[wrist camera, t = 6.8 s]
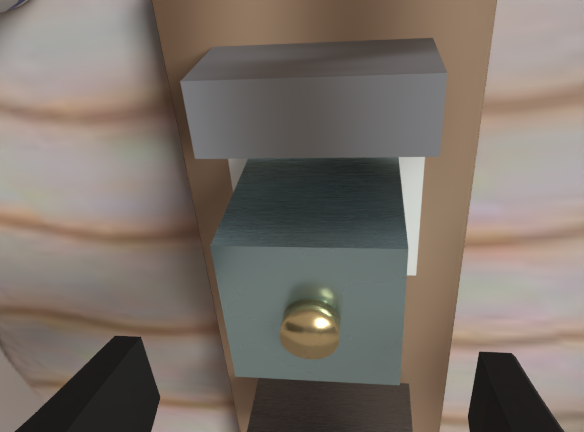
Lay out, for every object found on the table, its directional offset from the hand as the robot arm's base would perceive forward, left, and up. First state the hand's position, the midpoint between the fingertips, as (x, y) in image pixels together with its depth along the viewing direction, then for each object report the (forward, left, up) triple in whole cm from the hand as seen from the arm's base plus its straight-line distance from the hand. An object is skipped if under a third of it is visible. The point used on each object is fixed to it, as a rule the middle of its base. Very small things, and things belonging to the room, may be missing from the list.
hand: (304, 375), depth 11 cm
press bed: (0, +5, -8) cm, 10 cm away
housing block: (0, 0, -7) cm, 7 cm away
